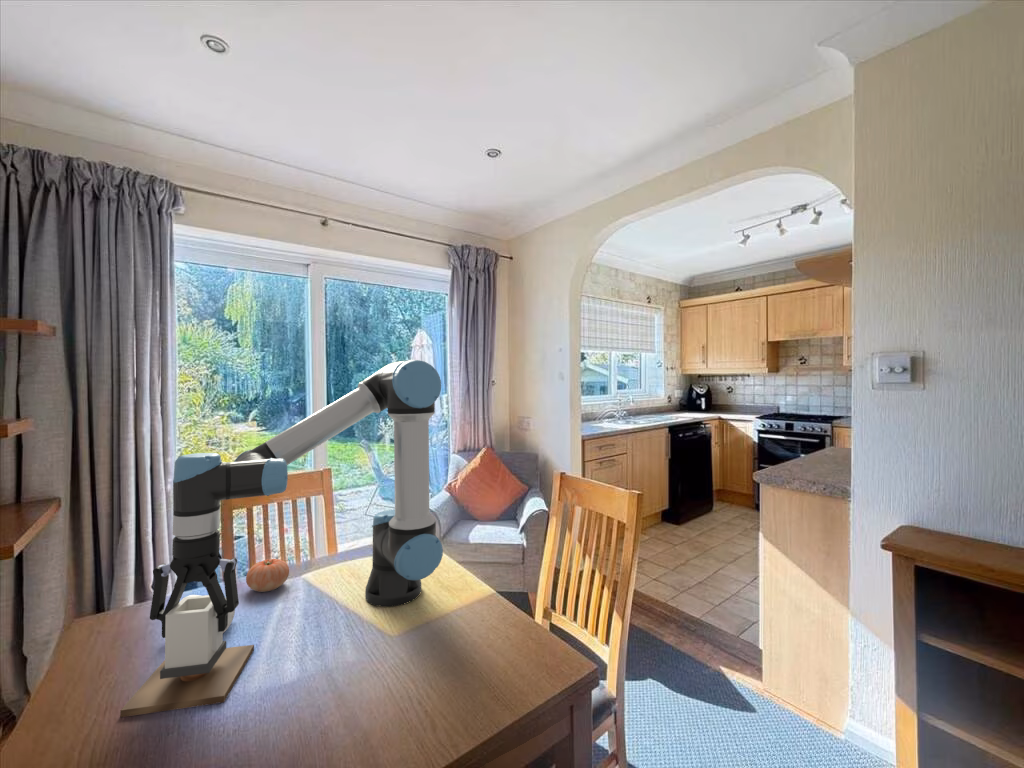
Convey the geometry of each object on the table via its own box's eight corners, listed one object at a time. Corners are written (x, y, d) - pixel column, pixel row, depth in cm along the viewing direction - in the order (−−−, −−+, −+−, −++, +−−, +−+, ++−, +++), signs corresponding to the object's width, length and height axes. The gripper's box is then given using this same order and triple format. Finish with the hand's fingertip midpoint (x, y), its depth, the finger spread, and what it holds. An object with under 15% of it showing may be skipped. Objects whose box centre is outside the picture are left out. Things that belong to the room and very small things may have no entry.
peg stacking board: (254, 650, 95) (254, 594, 95) (223, 702, 79) (224, 635, 79) (169, 660, 91) (170, 602, 91) (120, 717, 75) (121, 647, 75)
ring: (226, 647, 90) (226, 640, 90) (209, 672, 82) (209, 664, 82) (181, 653, 88) (181, 645, 88) (160, 679, 80) (160, 670, 80)
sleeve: (222, 642, 89) (223, 593, 89) (207, 663, 82) (208, 611, 82) (183, 646, 87) (184, 597, 88) (164, 668, 81) (165, 615, 81)
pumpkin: (237, 591, 122) (238, 562, 122) (276, 576, 131) (276, 550, 131) (258, 601, 116) (259, 571, 116) (297, 585, 125) (297, 558, 125)
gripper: (259, 523, 91) (257, 632, 91) (148, 530, 86) (147, 645, 86) (246, 535, 84) (244, 654, 84) (124, 543, 79) (123, 669, 79)
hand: (195, 649), depth 85 cm, fingers closed on sleeve, 7 cm apart
